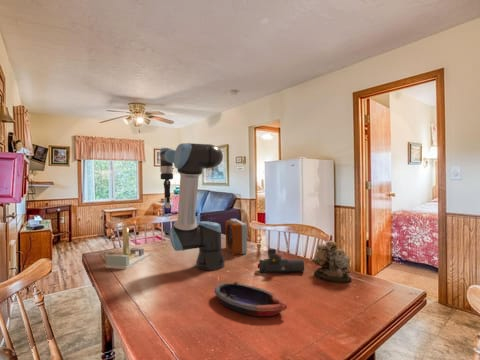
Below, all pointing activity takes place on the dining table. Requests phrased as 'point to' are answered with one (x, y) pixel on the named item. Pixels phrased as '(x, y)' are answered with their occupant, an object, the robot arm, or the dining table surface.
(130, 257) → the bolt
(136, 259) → the jamb board
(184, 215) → the robot arm
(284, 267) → the laser sight
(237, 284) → the dish
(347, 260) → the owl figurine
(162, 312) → the dining table surface
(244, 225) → the alarm clock
